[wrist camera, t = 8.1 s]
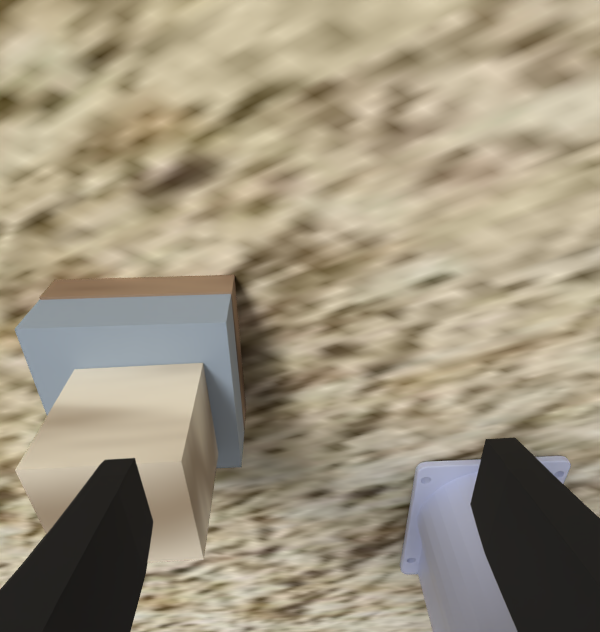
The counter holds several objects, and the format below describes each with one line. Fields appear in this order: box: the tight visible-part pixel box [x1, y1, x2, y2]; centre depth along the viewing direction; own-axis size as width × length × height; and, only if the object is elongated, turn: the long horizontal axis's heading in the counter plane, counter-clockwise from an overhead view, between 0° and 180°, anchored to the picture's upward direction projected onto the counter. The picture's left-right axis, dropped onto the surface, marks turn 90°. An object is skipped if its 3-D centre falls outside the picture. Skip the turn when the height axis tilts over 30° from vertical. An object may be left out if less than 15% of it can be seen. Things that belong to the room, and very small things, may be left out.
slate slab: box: [15, 294, 244, 468], centre depth 19 cm, size 7×7×2 cm
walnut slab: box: [40, 275, 246, 430], centre depth 21 cm, size 7×7×2 cm
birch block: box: [15, 363, 218, 563], centre depth 16 cm, size 4×4×4 cm
